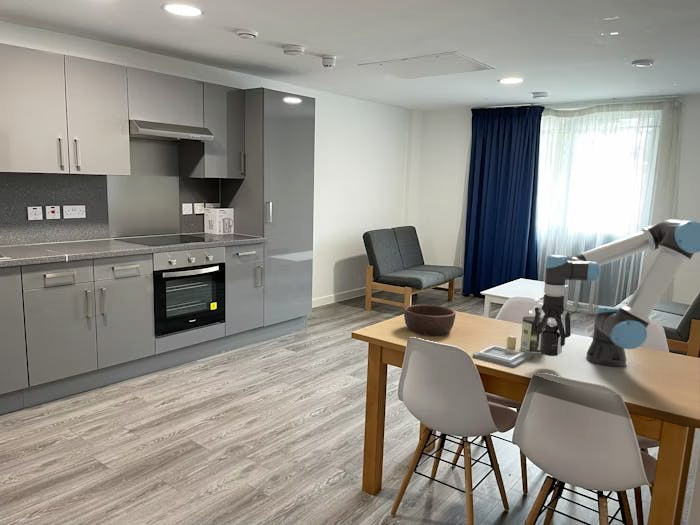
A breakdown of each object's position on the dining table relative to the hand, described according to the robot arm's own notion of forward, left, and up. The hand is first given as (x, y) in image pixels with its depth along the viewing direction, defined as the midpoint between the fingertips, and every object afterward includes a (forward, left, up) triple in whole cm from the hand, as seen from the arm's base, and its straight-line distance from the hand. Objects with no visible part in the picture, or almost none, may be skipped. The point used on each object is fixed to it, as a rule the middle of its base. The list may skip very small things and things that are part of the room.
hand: (549, 351), depth 211 cm
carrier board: (+18, +1, -7) cm, 20 cm away
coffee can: (+13, -18, -7) cm, 23 cm away
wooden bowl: (+62, -11, -7) cm, 64 cm away
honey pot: (+20, -43, -7) cm, 48 cm away
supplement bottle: (0, 0, -1) cm, 1 cm away
